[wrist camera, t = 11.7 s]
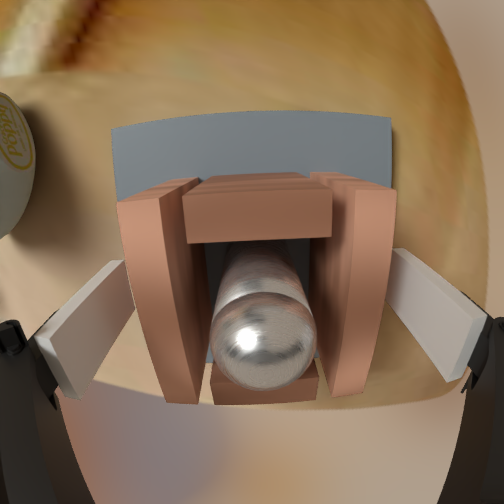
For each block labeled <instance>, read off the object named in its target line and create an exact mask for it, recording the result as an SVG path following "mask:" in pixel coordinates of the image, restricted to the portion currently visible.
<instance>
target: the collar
mask: <svg viewBox="0 0 504 504" xmlns="http://www.w3.org/2000/svg"><path fill="white" fill-rule="evenodd" d="M396 198H397V190H394V189H391V188H388V187H385V186H382V185H378V184H375V183H372V182H369V181H365V180H362V179H359V178H355V177H352V176H348V175H345V174H341V173H338V172H310V178H308V177H306V176H303V175H301V174H299V173H297V172H281V173H253V174H234V175H218V176H211V177H210V178H208V179H207V180H205V181H203V182H202V183H200V184H199V182H198V177H193V178H182V179H172V180H169V181H167V182H164V183H161V184H159V185H157V186H154V187H152V188H149V189H147V190H144V191H142V192H140V193H137V194H135V195H133V196H130V197H128V198H126V199H124V200H121V201H119V202H117V203H116V206H117V213H118V220H119V226H120V232H121V238H122V244H123V249H124V254H125V259H126V264H127V269H128V274H129V278H130V283H131V287H132V292H133V296H134V300H135V304H136V308H137V312H138V315H139V319H140V323H141V326H142V330H143V333H144V337H145V340H146V344H147V347H148V350H149V353H150V356H151V360H152V363H153V366H154V369H155V372H156V375H157V378H158V380H159V383H160V386H161V389H162V392H163V394H164V397H165V400H166V402H167V403H180V404H198V402H199V396H200V391H201V385H202V380H203V374H204V369H205V363H206V358H207V352H208V347H209V342H210V329H211V324H212V319H213V315H212V307H211V299H210V291H209V283H208V275H207V266H206V257H205V248H204V243H209V242H229V241H250V240H271V239H294V238H310V259H309V288H308V304H309V307H310V310H311V313H312V315H313V318H314V321H315V324H316V329H317V350H318V353H319V357H320V360H321V363H322V366H323V370H324V373H325V376H326V380H327V383H328V386H329V390H330V393H331V397H332V398H333V397H340V396H346V395H352V394H358V393H363V389H364V386H365V382H366V379H367V375H368V372H369V368H370V364H371V361H372V357H373V353H374V349H375V344H376V340H377V336H378V331H379V327H380V322H381V317H382V312H383V307H384V301H385V295H386V289H387V283H388V277H389V270H390V263H391V255H392V246H393V237H394V226H395V214H396ZM318 381H319V375H318V372H317V368H316V365H315V361H314V358H313V360H312V362H311V364H310V365H309V367H308V368H307V370H306V371H305V372H304V373H303V374H302V375H301V376H300V377H299V378H298V379H297V380H295V381H294V382H292V383H291V384H289V385H287V386H285V387H283V388H280V389H276V390H271V391H255V390H250V389H247V388H244V387H241V386H239V385H237V384H236V383H234V382H232V381H231V380H230V379H228V378H227V377H226V376H225V375H224V374H223V373H222V372H221V370H220V369H219V367H218V366H217V364H216V363H215V360H214V359H213V365H212V372H211V379H210V386H211V391H212V395H213V400H214V405H252V404H273V403H287V402H299V401H309V400H316V394H317V388H318Z"/></svg>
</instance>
